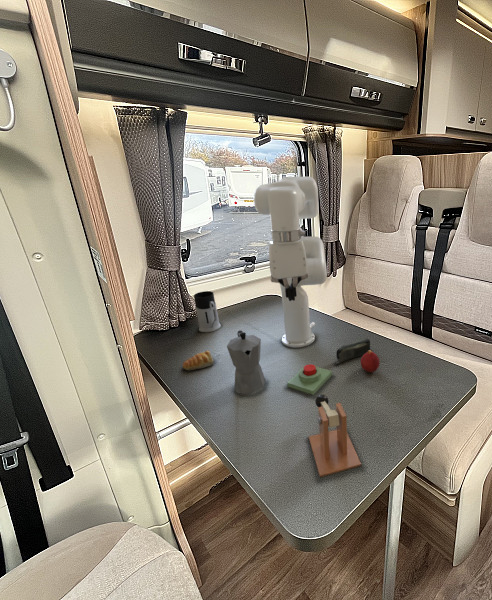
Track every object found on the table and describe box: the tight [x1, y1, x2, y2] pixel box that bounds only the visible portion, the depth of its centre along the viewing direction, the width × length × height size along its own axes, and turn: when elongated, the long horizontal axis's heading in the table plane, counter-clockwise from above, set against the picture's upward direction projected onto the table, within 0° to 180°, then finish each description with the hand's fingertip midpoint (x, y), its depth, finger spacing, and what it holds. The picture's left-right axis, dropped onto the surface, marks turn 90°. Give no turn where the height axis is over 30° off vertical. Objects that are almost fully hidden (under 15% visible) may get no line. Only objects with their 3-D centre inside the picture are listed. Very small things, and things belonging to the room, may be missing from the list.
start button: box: [303, 363, 316, 376], centre depth 94 cm, size 4×4×2 cm
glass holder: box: [193, 290, 222, 333], centre depth 129 cm, size 9×14×15 cm, turn 43°
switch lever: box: [314, 394, 340, 428], centre depth 72 cm, size 13×3×3 cm, turn 16°
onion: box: [360, 349, 380, 373], centre depth 99 cm, size 6×6×8 cm
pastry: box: [182, 350, 215, 371], centre depth 106 cm, size 9×7×4 cm
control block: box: [286, 363, 333, 396], centre depth 95 cm, size 11×9×4 cm
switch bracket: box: [308, 402, 362, 478], centre depth 69 cm, size 11×9×12 cm
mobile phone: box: [334, 338, 371, 365], centre depth 108 cm, size 5×3×15 cm
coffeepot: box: [226, 329, 267, 395], centre depth 92 cm, size 15×9×18 cm, turn 25°
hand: (291, 299), depth 92 cm, fingers closed
